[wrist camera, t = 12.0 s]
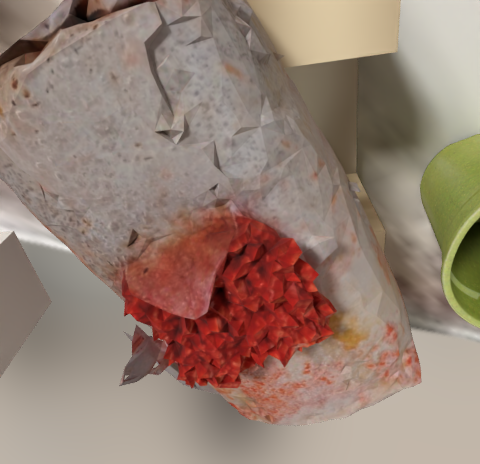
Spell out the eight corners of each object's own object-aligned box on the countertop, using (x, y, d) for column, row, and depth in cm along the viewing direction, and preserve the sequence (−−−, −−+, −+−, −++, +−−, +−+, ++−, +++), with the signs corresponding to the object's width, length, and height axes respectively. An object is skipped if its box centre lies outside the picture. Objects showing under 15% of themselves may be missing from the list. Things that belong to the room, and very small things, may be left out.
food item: (391, 238, 18) (503, 459, 10) (245, 305, 20) (234, 525, 12) (218, -73, 12) (121, -205, 4) (47, 76, 15) (-232, 192, 6)
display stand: (353, -45, 19) (404, -62, 12) (351, 208, 26) (381, 286, 19) (116, -4, 20) (43, 0, 13) (177, 225, 27) (149, 303, 21)
